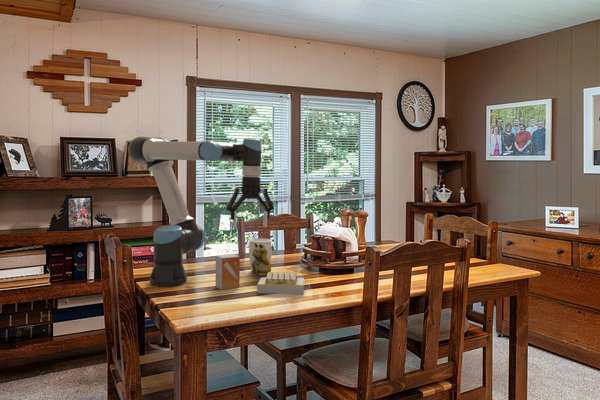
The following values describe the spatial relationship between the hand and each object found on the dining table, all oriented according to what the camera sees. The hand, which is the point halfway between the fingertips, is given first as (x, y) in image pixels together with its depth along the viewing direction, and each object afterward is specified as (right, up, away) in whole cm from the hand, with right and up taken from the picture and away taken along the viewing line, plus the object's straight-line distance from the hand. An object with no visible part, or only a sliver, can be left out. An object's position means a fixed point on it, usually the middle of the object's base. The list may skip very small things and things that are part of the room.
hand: (249, 227), depth 208 cm
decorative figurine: (+4, -23, +14) cm, 27 cm away
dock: (+13, -25, -7) cm, 29 cm away
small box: (-9, -24, -5) cm, 26 cm away
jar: (+2, -22, +24) cm, 33 cm away
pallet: (+13, -22, -7) cm, 26 cm away
